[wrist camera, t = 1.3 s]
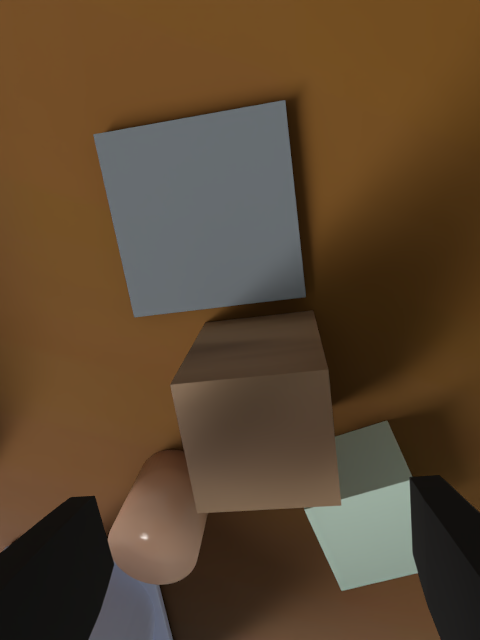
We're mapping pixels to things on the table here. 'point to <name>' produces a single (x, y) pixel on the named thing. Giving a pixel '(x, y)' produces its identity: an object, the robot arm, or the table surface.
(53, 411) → the table surface
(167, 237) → the slate coaster
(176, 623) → the table surface
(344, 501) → the pale green cube
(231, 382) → the walnut block
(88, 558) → the robot arm
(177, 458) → the pinkish brown rounded cylinder
